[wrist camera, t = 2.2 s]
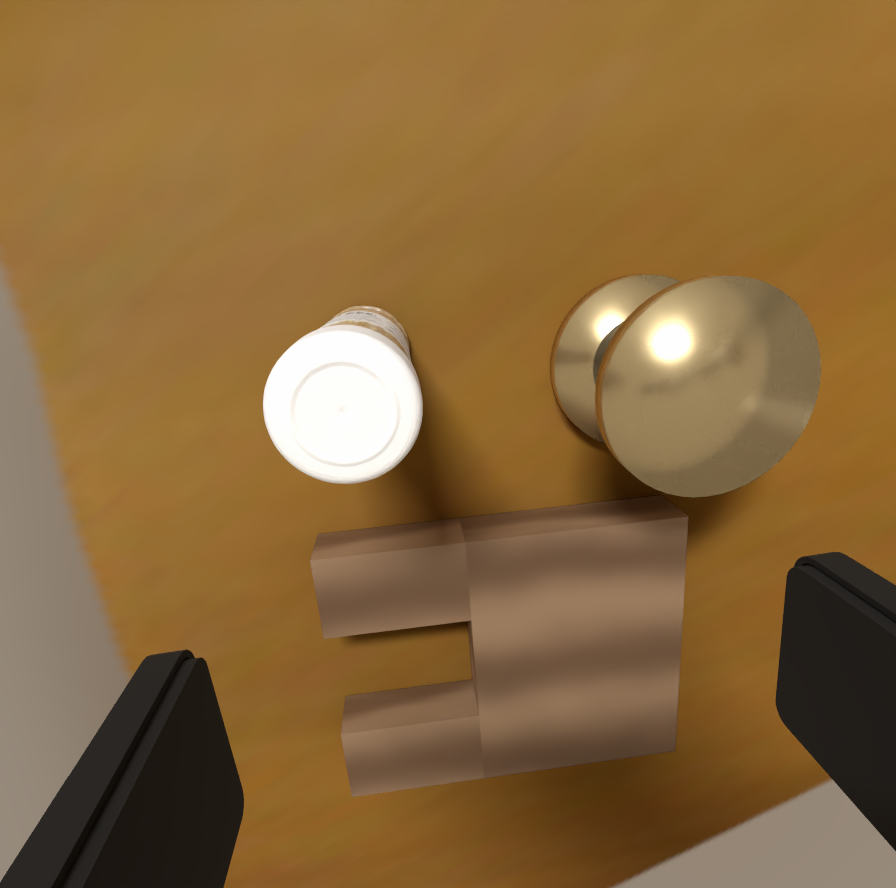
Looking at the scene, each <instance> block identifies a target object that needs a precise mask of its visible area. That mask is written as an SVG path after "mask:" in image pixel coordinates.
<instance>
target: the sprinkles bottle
mask: <svg viewBox="0 0 896 888" xmlns="http://www.w3.org/2000/svg"><path fill="white" fill-rule="evenodd" d="M409 349H410V347H409V341H408V337H407V334H406V332H405V330H404V328H403V326H402V325H401V324H400V323H399V322H398V321H397V319H396V318H395V317H394V316H392V315H391V314H390V313H388V312H387V311H385V310H382V309H380V308H377V307H374V306H354V307H350V308H348V309H346V310H344V311H342V312H340V313H338V314H337V315H336V316H335V317H334V318H333V319H332V320H330V321H329V322H328V323H326V324H325V325H323V326H322V327H321V328H319V329H318V330H315V331H313V332H311V333H309V334H307V335H305V336H304V337H302V338H301V339H300V340H298V341H297V342H296V343H294V344H293V345H292V346H291V347H290V348H289V349H288V350H287V351H286V352H285V353H284V354H283V355H282V356H281V357H280V359H279V360H278V361H277V363H276V364H275V366H274V367H273V369H272V371H271V373H270V375H269V377H268V380H267V383H266V386H265V391H264V398H263V410H264V419H265V423H266V427H267V429H268V432H269V435H270V437H271V439H272V441H273V443H274V445H275V446H276V448H277V449H278V450H279V451H280V453H281V454H282V455H283V456H284V457H285V459H286V460H287V461H289V462H290V463H291V464H292V465H293V466H295V467H296V468H297V469H299V470H300V471H302V472H303V473H305V474H307V475H309V476H311V477H313V478H316V479H319V480H322V481H326V482H331V483H340V484H353V483H359V482H365V481H368V480H372V479H374V478H377V477H379V476H381V475H383V474H385V473H387V472H388V471H390V470H391V469H392V468H394V467H395V466H396V465H397V464H399V463H400V462H401V461H402V460H403V459H404V457H405V456H406V455H407V454H408V453H409V451H410V450H411V448H412V447H413V445H414V443H415V441H416V439H417V436H418V434H419V430H420V427H421V423H422V416H423V400H422V393H421V388H420V383H419V379H418V377H417V374H416V372H415V369H414V367H413V365H412V363H411V357H410V351H409Z"/></svg>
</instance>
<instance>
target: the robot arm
mask: <svg viewBox="0 0 896 888" xmlns="http://www.w3.org/2000/svg"><path fill="white" fill-rule="evenodd" d="M776 706H777V710H778V713H779V716H780V718H781V719H782V721H783V723H784V724H785V725H786V727H787V728H788V729H789V730H790V731H791V733H792V734H793V735H794V736H795V737H796V738H797V739H798V740H799V742H800V743H801V744H802V745H803V746H804V747H805V748H806V750H807V751H808V752H809V753H810V754H811V755H812V756H813V758H814V759H815V760H816V761H817V762H818V763H819V764H820V766H821V767H822V768H823V769H824V770H825V771H826V772H827V773H828V775H829V776H830V777H831V778H832V779H833V780H834V781H835V783H837V785H838V786H839V787H840V788H841V789H842V791H843V792H844V793H845V794H846V795H847V796H848V797H849V798H850V800H851V801H852V802H853V803H854V804H855V805H856V806H857V808H858V809H859V810H860V811H861V812H862V813H863V814H864V816H865V817H866V818H867V819H868V820H869V821H870V822H871V824H872V825H873V826H874V827H875V828H876V829H877V830H878V831H879V833H880V834H881V835H882V836H883V837H884V838H885V839H886V840H887V842H888V843H889V844H890V845H891V846H892V847H893V849H894V850H895V851H896V585H894V584H892V583H891V582H889V581H888V580H886V579H884V578H883V577H881V576H879V575H878V574H876V573H874V572H873V571H871V570H870V569H868V568H866V567H865V566H863V565H861V564H860V563H858V562H856V561H855V560H853V559H852V558H850V557H848V556H847V555H845V554H842V553H840V552H831V553H824V554H817V555H811V556H804V557H801V558H799V559H798V560H797V561H796V563H795V566H794V567H793V568H791V569H790V570H789V572H788V574H787V580H786V591H785V603H784V614H783V625H782V636H781V647H780V658H779V669H778V680H777V691H776ZM243 809H244V796H243V789H242V786H241V782H240V779H239V775H238V772H237V768H236V764H235V761H234V757H233V754H232V750H231V747H230V743H229V740H228V736H227V733H226V729H225V726H224V722H223V719H222V715H221V712H220V708H219V705H218V701H217V698H216V694H215V691H214V687H213V684H212V680H211V677H210V673H209V670H208V666H207V663H206V661H205V660H204V659H203V658H195V657H194V655H193V654H192V652H191V651H189V650H181V651H175V652H168V653H161V654H155V655H150V656H147V657H146V658H145V659H144V660H143V661H142V663H141V664H140V666H139V667H138V669H137V671H136V672H135V674H134V675H133V677H132V678H131V680H130V682H129V683H128V685H127V686H126V688H125V689H124V691H123V692H122V694H121V696H120V697H119V699H118V700H117V702H116V704H115V705H114V707H113V708H112V710H111V711H110V713H109V714H108V716H107V717H106V719H105V721H104V722H103V724H102V725H101V727H100V729H99V730H98V732H97V733H96V735H95V736H94V738H93V739H92V741H91V743H90V744H89V746H88V747H87V749H86V750H85V752H84V753H83V755H82V756H81V758H80V760H79V761H78V763H77V764H76V766H75V767H74V769H73V770H72V772H71V774H70V775H69V776H68V778H67V779H66V781H65V782H64V784H63V785H62V787H61V788H60V790H59V792H58V793H57V795H56V796H55V798H54V799H53V801H52V802H51V804H50V806H49V807H48V809H47V810H46V812H45V813H44V815H43V817H42V818H41V820H40V822H39V823H38V824H37V826H36V827H35V829H34V831H33V832H32V834H31V835H30V837H29V838H28V840H27V841H26V843H25V845H24V846H23V848H22V849H21V851H20V852H19V854H18V856H17V857H16V859H15V860H14V862H13V864H12V865H11V866H10V868H9V869H8V871H7V873H6V874H5V876H4V877H3V879H2V881H1V882H0V888H223V887H224V883H225V880H226V876H227V872H228V869H229V865H230V861H231V858H232V854H233V850H234V846H235V843H236V839H237V835H238V832H239V828H240V824H241V821H242V816H243Z"/></svg>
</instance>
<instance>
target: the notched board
mask: <svg viewBox="0 0 896 888" xmlns="http://www.w3.org/2000/svg"><path fill="white" fill-rule="evenodd" d="M687 532H688V516H687V515H686V514H685V513H684V512H682V511H681V510H680V509H679V508H678V507H676V506H675V505H674V504H673V503H672V502H670V501H669V500H668V499H667V498H666V497H664V496H663V495H658V496H649V497H640V498H631V499H622V500H614V501H605V502H596V503H587V504H578V505H570V506H561V507H552V508H543V509H534V510H526V511H517V512H508V513H499V514H490V515H481V516H473V517H464V518H455V519H446V520H437V521H429V522H420V523H411V524H402V525H393V526H385V527H376V528H367V529H358V530H349V531H341V532H332V533H323V534H318V536H317V539H316V542H315V546H314V549H313V552H312V556H311V559H310V563H311V569H312V574H313V580H314V586H315V591H316V597H317V603H318V608H319V614H320V619H321V625H322V631H323V636H324V639H327V638H335V637H343V636H351V635H359V634H367V633H375V632H383V631H391V630H399V629H407V628H415V627H423V626H431V625H439V624H447V623H455V622H463V621H468V633H469V645H470V657H471V669H472V680H465V681H457V682H450V683H442V684H434V685H427V686H419V687H411V688H404V689H396V690H389V691H381V692H373V693H366V694H358V695H351V696H345V705H344V713H343V721H342V730H341V738H342V743H343V749H344V755H345V760H346V766H347V771H348V777H349V783H350V788H351V794H352V797H356V796H363V795H370V794H377V793H384V792H391V791H398V790H405V789H412V788H419V787H426V786H433V785H440V784H447V783H454V782H461V781H468V780H475V779H482V778H489V777H496V776H503V775H510V774H517V773H524V772H531V771H538V770H545V769H552V768H559V767H566V766H573V765H580V764H587V763H594V762H601V761H608V760H615V759H622V758H629V757H636V756H643V755H650V754H657V753H665V752H672V751H675V747H676V729H677V711H678V693H679V675H680V657H681V640H682V622H683V604H684V586H685V568H686V550H687Z"/></svg>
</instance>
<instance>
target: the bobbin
mask: <svg viewBox="0 0 896 888" xmlns="http://www.w3.org/2000/svg"><path fill="white" fill-rule="evenodd" d="M820 374H821V362H820V352H819V347H818V342H817V339H816V336H815V333H814V330H813V328H812V326H811V324H810V322H809V320H808V318H807V316H806V315H805V314H804V312H803V311H802V310H801V308H800V307H799V306H798V304H796V303H795V302H794V301H793V300H792V299H791V298H790V297H789V296H788V295H787V294H785V293H784V292H782V291H781V290H779V289H778V288H776V287H774V286H772V285H770V284H768V283H766V282H763V281H760V280H756V279H753V278H748V277H740V276H703V277H697V278H691V279H688V280H685V281H681V282H680V281H678V280H676V279H673V278H669V277H665V276H658V275H630V276H624V277H620V278H617V279H613V280H611V281H608V282H606V283H604V284H602V285H600V286H598V287H597V288H595V289H593V290H592V291H590V292H589V293H588V294H586V295H585V296H584V297H583V298H582V299H581V300H580V301H579V302H578V303H577V304H576V305H575V306H574V307H573V308H572V309H571V311H570V312H569V313H568V314H567V316H566V317H565V319H564V321H563V322H562V324H561V326H560V328H559V330H558V332H557V335H556V337H555V340H554V344H553V347H552V352H551V358H550V376H551V383H552V388H553V392H554V395H555V397H556V400H557V402H558V404H559V406H560V407H561V409H562V411H563V412H564V413H565V415H566V416H567V417H568V419H569V420H570V421H571V422H572V423H573V424H574V425H576V426H577V427H578V428H579V429H580V430H581V431H583V432H584V433H585V434H587V435H588V436H590V437H592V438H593V439H595V440H597V441H600V442H602V443H605V444H606V445H607V447H608V449H609V450H610V451H611V453H612V454H613V456H614V457H615V458H616V459H617V460H618V461H619V462H620V463H621V464H622V465H623V467H624V468H626V469H627V470H628V471H629V472H630V473H631V474H633V475H634V476H635V477H636V478H638V479H639V480H640V481H642V482H643V483H645V484H646V485H648V486H650V487H652V488H654V489H656V490H659V491H661V492H664V493H667V494H671V495H676V496H683V497H707V496H712V495H718V494H722V493H725V492H729V491H732V490H735V489H737V488H739V487H742V486H744V485H746V484H748V483H750V482H751V481H753V480H755V479H757V478H758V477H760V476H761V475H763V474H764V473H765V472H767V471H768V470H770V469H771V468H772V467H773V466H774V465H775V464H776V463H778V462H779V461H780V460H781V459H782V458H783V457H784V456H785V454H786V453H787V452H788V451H789V450H790V449H791V448H792V446H793V445H794V444H795V442H796V441H797V440H798V438H799V437H800V435H801V433H802V432H803V430H804V428H805V426H806V425H807V423H808V421H809V418H810V416H811V414H812V411H813V409H814V405H815V402H816V399H817V396H818V390H819V385H820Z"/></svg>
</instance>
